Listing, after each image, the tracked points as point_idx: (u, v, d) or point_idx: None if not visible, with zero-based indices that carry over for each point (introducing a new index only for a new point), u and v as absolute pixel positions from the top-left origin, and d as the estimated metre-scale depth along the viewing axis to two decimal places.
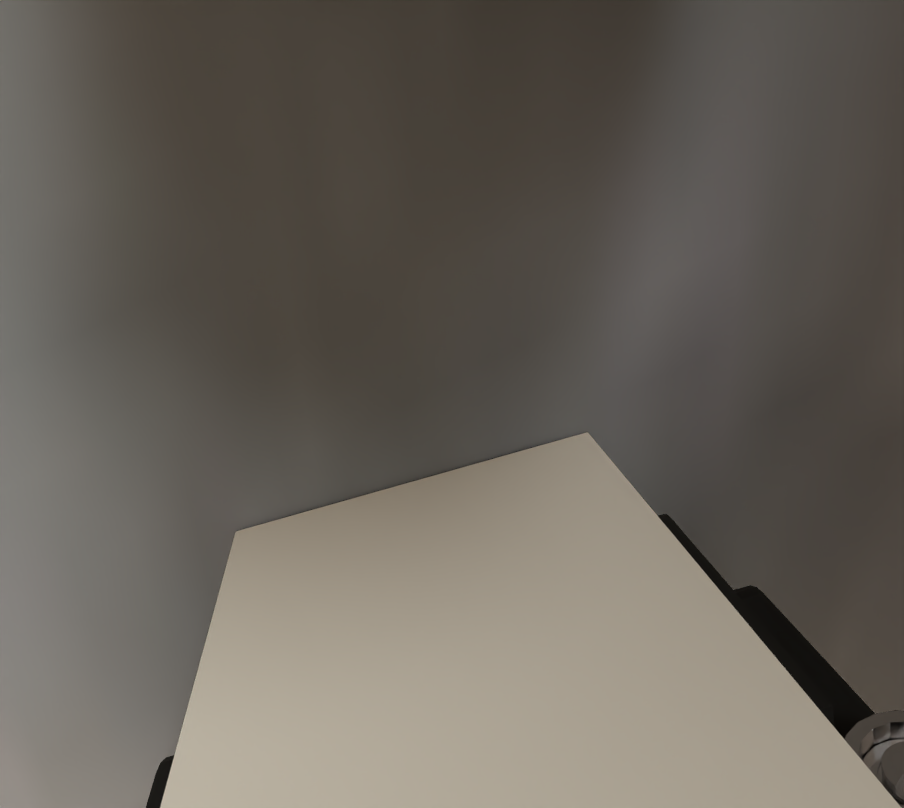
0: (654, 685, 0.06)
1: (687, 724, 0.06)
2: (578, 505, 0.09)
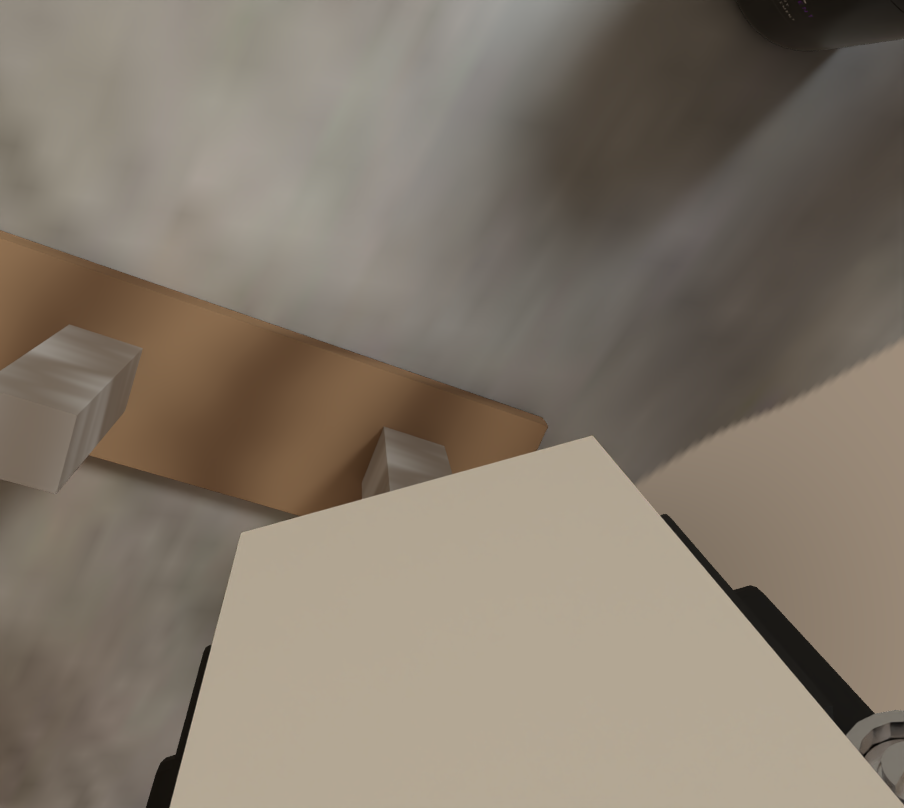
0: (662, 689, 0.06)
1: (696, 728, 0.06)
2: (584, 509, 0.09)
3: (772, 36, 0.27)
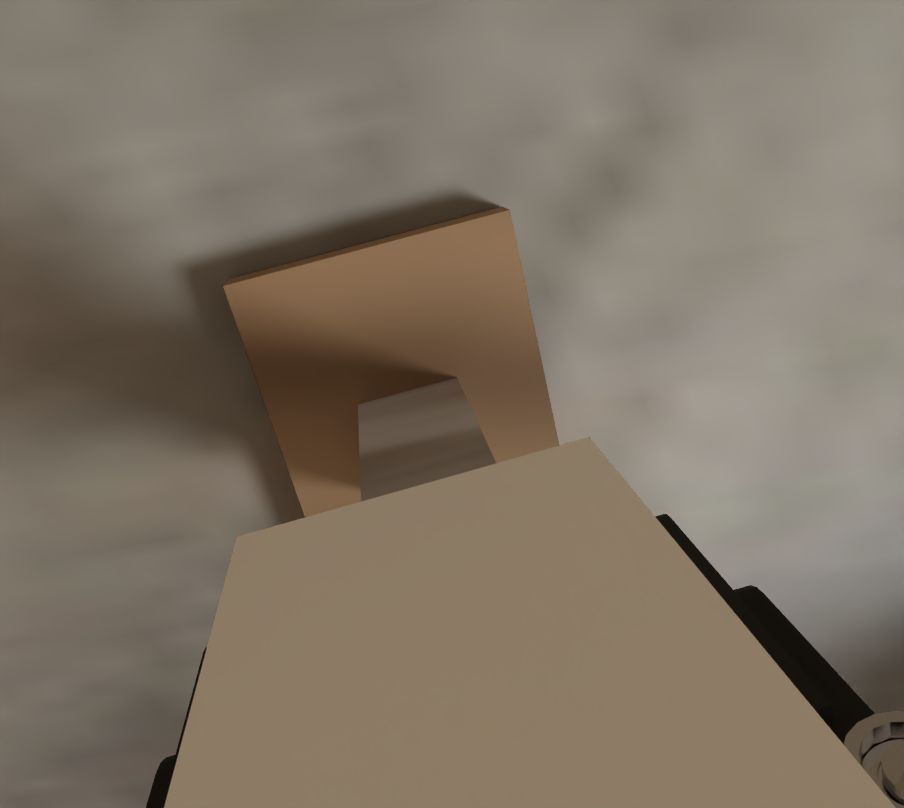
0: (657, 695, 0.06)
1: (692, 735, 0.06)
2: (580, 511, 0.09)
3: None
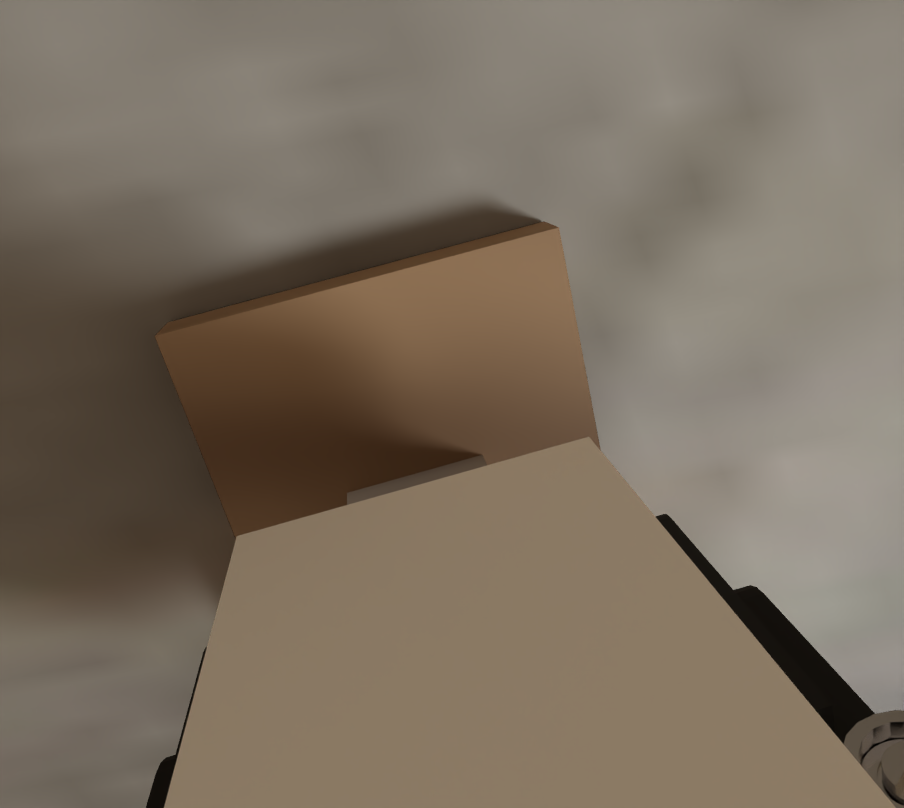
0: (657, 693, 0.06)
1: (690, 732, 0.06)
2: (580, 510, 0.09)
3: None
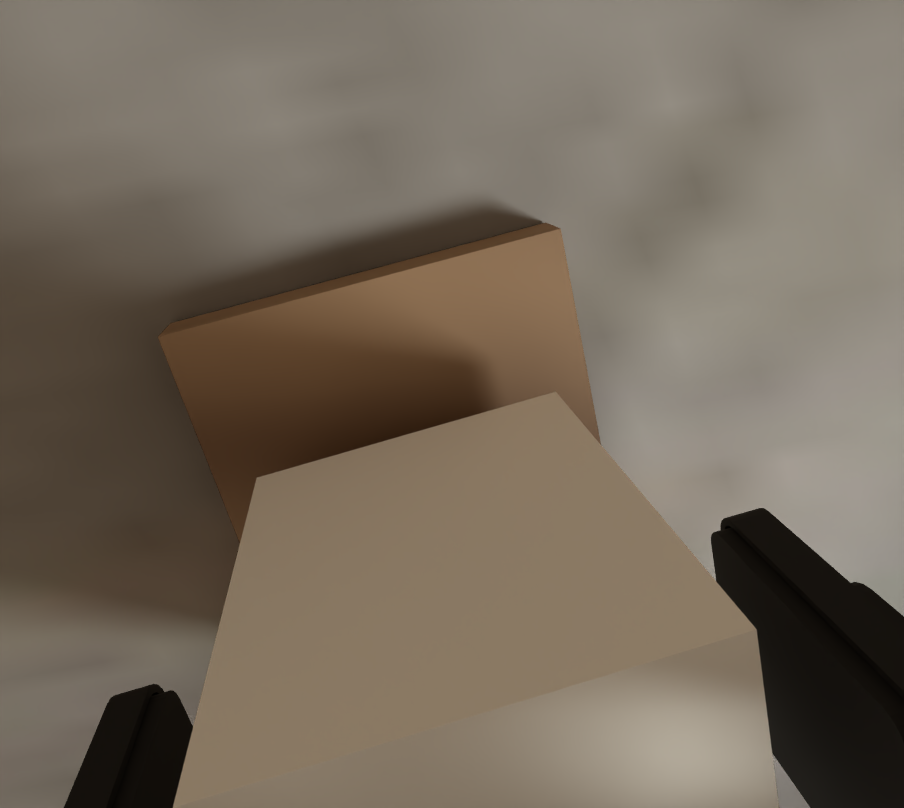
0: (588, 563, 0.08)
1: (610, 585, 0.08)
2: (543, 446, 0.11)
3: None
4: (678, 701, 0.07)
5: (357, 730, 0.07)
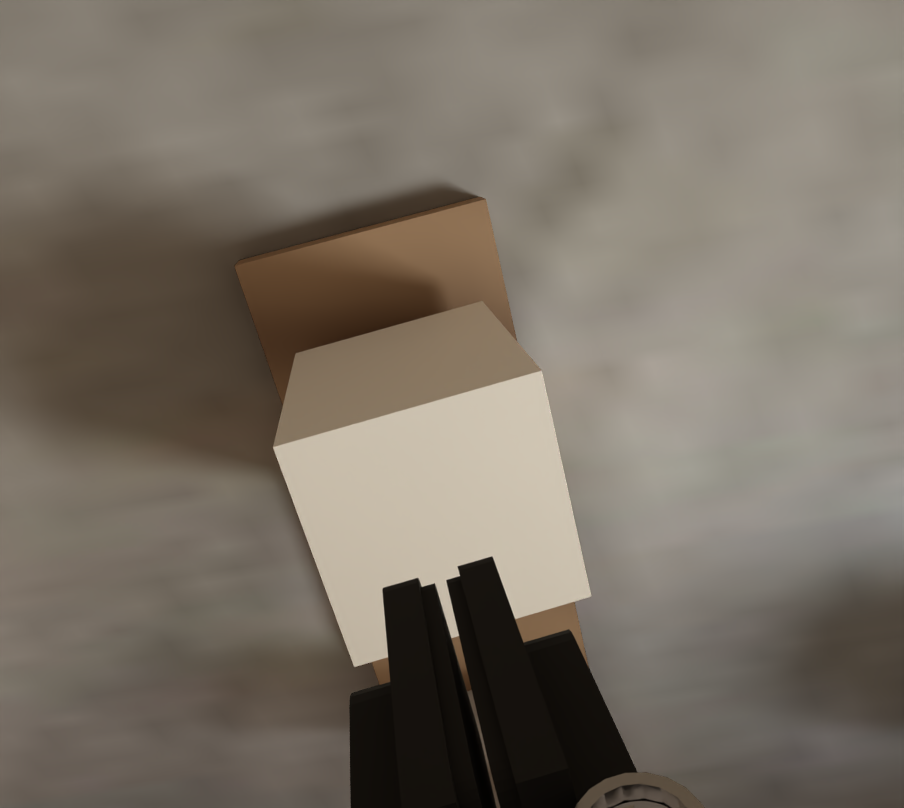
0: (476, 361, 0.16)
1: (484, 366, 0.15)
2: (467, 324, 0.19)
3: None
4: (507, 406, 0.14)
5: (357, 418, 0.14)
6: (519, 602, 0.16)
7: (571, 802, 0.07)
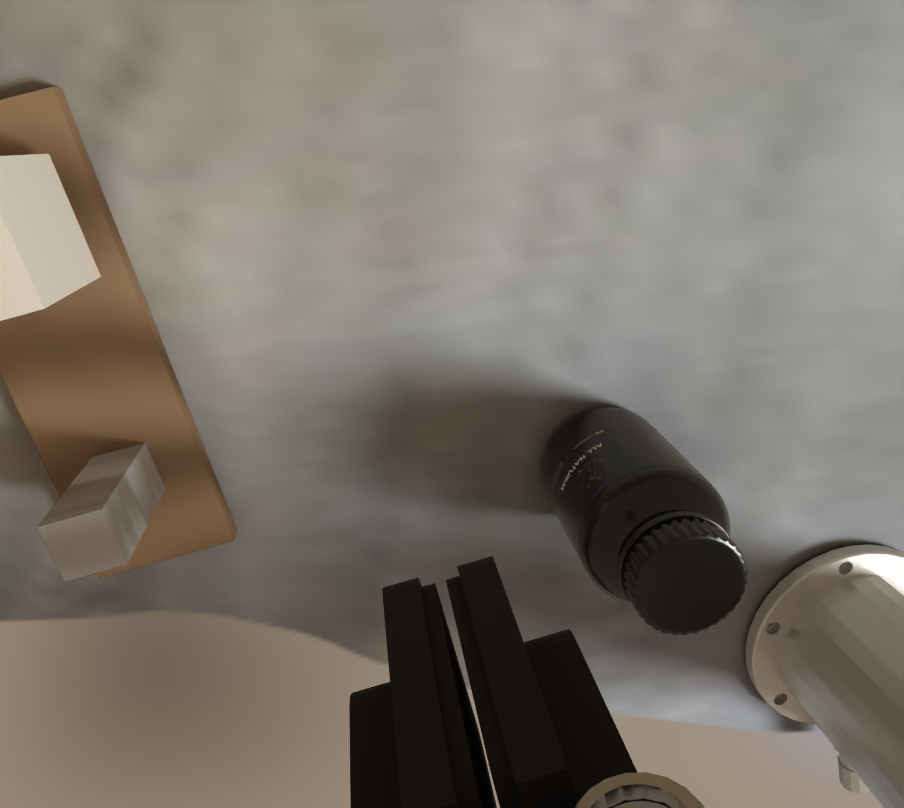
0: None
1: None
2: None
3: (543, 480, 0.40)
4: None
5: None
6: None
7: (571, 802, 0.07)
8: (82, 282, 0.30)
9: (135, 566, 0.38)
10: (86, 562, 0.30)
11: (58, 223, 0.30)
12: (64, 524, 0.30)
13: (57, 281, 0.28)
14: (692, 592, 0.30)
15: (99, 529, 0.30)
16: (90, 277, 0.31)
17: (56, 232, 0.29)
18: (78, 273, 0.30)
